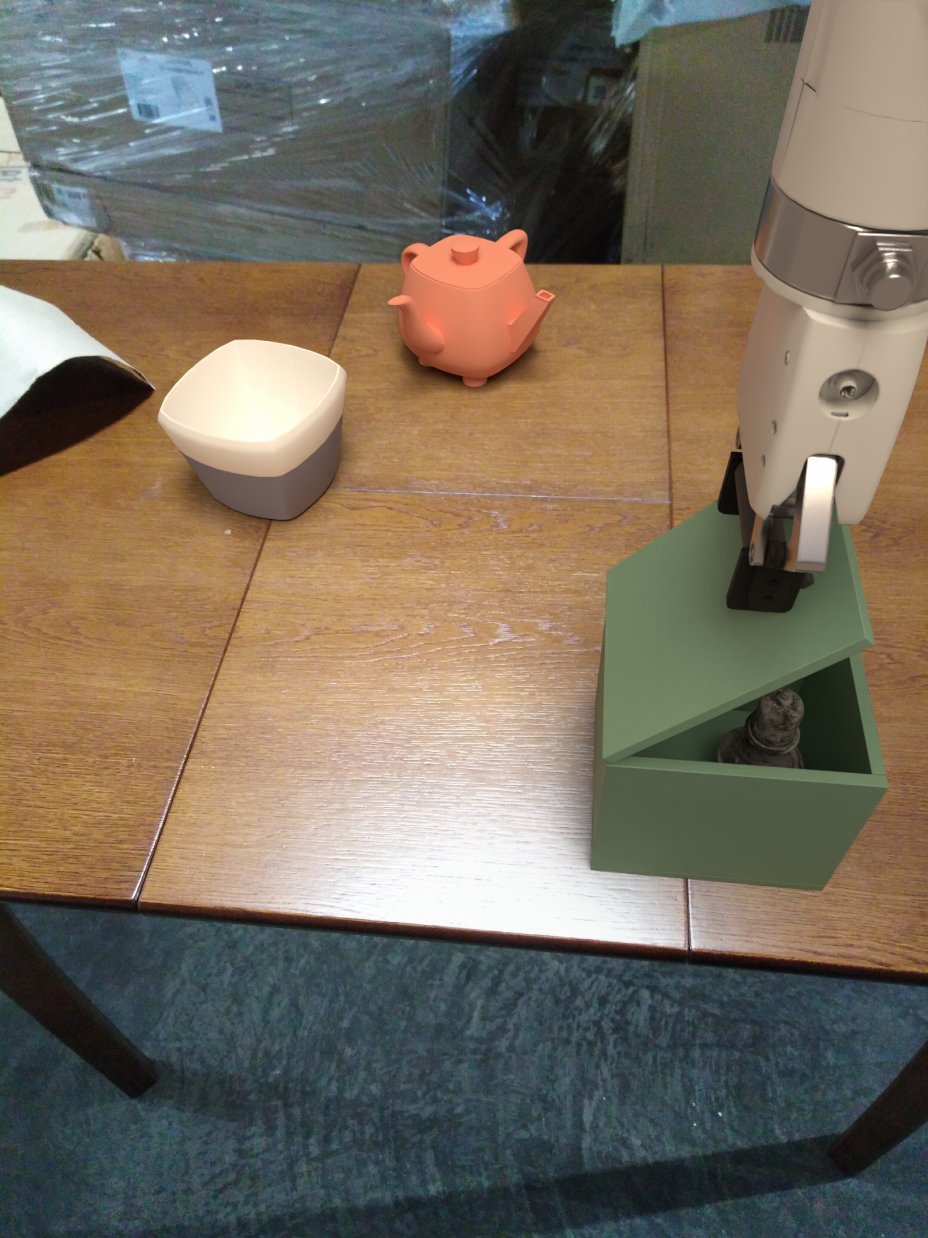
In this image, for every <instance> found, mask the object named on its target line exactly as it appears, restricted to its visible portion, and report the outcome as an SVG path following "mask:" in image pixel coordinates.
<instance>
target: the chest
mask: <svg viewBox="0 0 928 1238" xmlns="http://www.w3.org/2000/svg"><path fill="white" fill-rule="evenodd" d="M604 657H605V622H604V623H603V631H602V640H601V649H600V658H599V665H598V674H597V682H596V683H597V685H596V693H595V706H594V707H595V708H594V709H595V711H594V712H595V713H594V744H593V745H594V746H593V778H592V779H593V781H592V809H591V810H592V812H591V813H592V814H591V843H590V844H591V846H590V849H591V850H590V870H591V871H598V872H610V873H621V874H632V875H643V876H652V877H653V876H655V877H664V878H665V877H666V878H675V879H685V880H699V881H709V882H710V881H711V882H720V883H729V884H730V883H731V884H741V885H742V884H743V885H753V886H764V887H774V888H775V887H776V888H786V889H795V890H796V889H797V890H809V891H818V892H819V891H821V892H822V891H823V890H824V889H825V886H827V884H828V883H829V881H830V879H831V878H832V876H833V875H834V874H835V872H836V870H837V869H838V867H839V866H840V864H841V863H842V861H843V859H844V857H845V856H846V855H847V853H848V851H849V850H850V848H851V847H852V846H853V844H854V842H855V840H857V838H858V836H859V834H860V833H861V831H862V830H863V829H864V827H865V825H866V824H867V822H868V821H869V819H870V817H871V815H872V814H873V813H874V811H875V810H876V808H877V807H878V805H879V803H880V802H881V801H882V799H883V798H884V797H885V794H886V793H887V791H888V790H889V787H890V786H889V781H888V776H887V770H886V767H885V766H886V765H885V761H884V756H883V750H882V747H881V742H880V737H879V731H878V728H877V722H876V718H875V713H874V707H873V703H872V697H871V692H870V688H869V683H868V678H867V673H866V667H865V664H864V659H863V653H862V651H861V652H859V653H857V654H855V655H852V656H850V657H848V658H846V659H844V660H841V661H839V662H837V663H835V664H832V665H830V666H828V667H826V668H823V669H821V670H819V671H817V672H815V673H812V674H810V675H808V676H806V677H803V678H801V679H799V680H797V681H795V682H792V683H790V684H788V685H786V686H783V688H787V689H790V690H792V691H794V692H795V693H796V694H797V695H798V696H799V697H800V698H801V700H802V702H803V704H804V714H803V717H802V720H801V722H800V724H799V727H798V728H799V732H800V738H799V742H798V744H797V745H796V747H797V748H798V750H799V751H800V754H801V756H802V759H803V764H804V769H794V768H781V767H768V766H755V765H742V764H729V763H718V762H717V750H718V747H719V743H720V742H721V740H722V739H723V737H724V736H725V735H726V734H727V733H729V732H730V731H731V730H733V729H735V728H738V727H741V726H744V725H745V722H746V719H747V717H748V716H749V715H750V714H751V713H752V712H753V711H755V710H756V708H757V706H758V703H759V700H760V698H761V697H759V698H757V699H754V700H752V701H750V702H748V703H746V704H743V705H741V706H739V707H737V708H734V709H732V710H730V711H728V712H726V713H723V714H721V715H719V716H717V717H714V718H712V719H710V720H708V721H705V722H703V723H701V724H699V725H697V726H694V727H692V728H690V729H688V730H685V731H683V732H681V733H679V734H677V735H674V736H672V737H670V738H668V739H665V740H663V741H661V742H659V743H657V744H654V745H652V746H650V747H648V748H645V749H643V750H641V751H639V752H636V753H634V754H632V755H630V756H628V757H625V758H623V759H621V760H619V761H616V762H614V763H609V762H608V761H606V760H604V759H603V758H602V746H603V702H604Z"/></svg>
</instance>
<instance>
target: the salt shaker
mask: <svg viewBox="0 0 928 1238" xmlns="http://www.w3.org/2000/svg"><path fill="white" fill-rule="evenodd" d="M803 714H804V704H803V702H802V700H801V698H800V697H799V696H798V695H797V694H796V693H795V692H794V691H792V690H790V689H787V688H783V687H781V688H779V689H777V690H774V691H772V692H770V693H768V694H766V695H763V696H761V698H760V700H759V703H758V706H757V708H756V710H755V711H753V712H752V713H751V714H750V715H749V716H748V717H747V719H746V722H745V725H744V726H741V727H738V728H735V729H733V730H731V731H730V732H729V733H727V734H726V735H725V736H724V737H723V739H722V740H721V742H720V743H719V747H718V750H717V762H718V763H729V764H742V765H755V766H768V767H781V768H794V769H804V764H803V759H802V756H801V754H800V751H799V750H798V748H797V747H796V745H797V744H798V742H799V738H800V732H799V728H798V727H799V724H800V722H801V720H802V717H803Z"/></svg>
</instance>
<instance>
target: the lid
mask: <svg viewBox="0 0 928 1238" xmlns="http://www.w3.org/2000/svg"><path fill="white" fill-rule="evenodd" d="M735 482H736V491H737V500H738V509H739V515H726V514H722V513H720V512H719V511H718V505H717V501H718V498H717V499H716V500H714V501H712V502H711V503H710V504H708V505H706V506H705V507H703V508H702V509H700V510H699V511H697V512H696V513H694V514H692V515H690V516H689V517H687V518H686V519H685V520H683V521H682V522H680V523H678V524H677V525H675V526H674V527H673V528H671V529H669V530H667V531H666V532H665V533H663V534H661V535H660V536H658V537H656V538H655V539H653V540H652V541H650V542H649V543H647V544H646V545H644V546H643V547H641V548H640V549H638V550H636V551H635V552H633V553H632V554H630V555H628V556H627V557H626V558H624V559H622V560H621V561H619V562H618V563H616V564H615V565H613V566H611V567H610V568H608V569H607V570H606V571H605V572H606V575H605V614H604V615H605V616H604V623H605V657H604V702H603V746H602V758H603V759H604V760H606V761H608V762H609V763H614V762H616V761H619V760H621V759H623V758H625V757H628V756H630V755H632V754H634V753H636V752H639V751H641V750H643V749H645V748H648V747H650V746H652V745H654V744H657V743H659V742H661V741H663V740H665V739H668V738H670V737H672V736H674V735H677V734H679V733H681V732H683V731H685V730H688V729H690V728H692V727H694V726H697V725H699V724H701V723H703V722H705V721H708V720H710V719H712V718H714V717H717V716H719V715H721V714H723V713H726V712H728V711H730V710H732V709H734V708H737V707H739V706H741V705H743V704H746V703H748V702H750V701H752V700H754V699H757V698H759V697H761V696H763V695H766V694H768V693H770V692H772V691H774V690H777V689H779V688H781V687H783V686H786V685H788V684H790V683H792V682H795V681H797V680H799V679H801V678H803V677H806V676H808V675H810V674H812V673H815V672H817V671H819V670H821V669H823V668H826V667H828V666H830V665H832V664H835V663H837V662H839V661H841V660H844V659H846V658H848V657H850V656H852V655H855V654H857V653H859V652H861V653H862V652H863V651H866V650H868V649H871V648H872V647H874V646H876V641H875V635H874V632H873V627H872V623H871V618H870V614H869V609H868V605H867V601H866V596H865V591H864V586H863V581H862V579H861V578H862V577H861V573H860V569H859V563H858V559H857V555H856V554H857V553H856V551H855V546H854V542H853V541H854V540H853V537H852V532H851V526H850V525H838V521H837V516H836V511H835V507H834V502H833V509H832V518H831V527H830V536H829V546H828V555H827V563H826V568H825V571H824V572H823V573H822V574H818V573H807V574H806V576H805V579H804V581H803V583H802V586H801V588H800V591H799V593H798V595H797V598H796V600H795V603H794V605H793V607H792V609H791V610H790V611H788V612H786V613H774V612H758V611H747V610H733V609H729V608H728V607H727V604H726V595H727V592H728V589H729V586H730V583H731V579H732V576H733V573H734V570H735V567H736V564H737V561H738V558H739V555H740V551H741V548H742V547H750V543H751V538H752V533H753V528H754V522H755V517H756V513H755V511H754V510H753V509H752V508H751V506H750V502H749V497H748V491H747V485H746V477H745V470H744V462H743V461H742V462H741V463H740V464H739V465H738V466H737V468H736V470H735ZM796 490H797V489H795V491H794V492H793V493H792V494H791V495H790V496H789V497H788V498H796ZM792 528H793V519H789V518H773V523H772V528H771V533H770V538H769V541H778V542H789V541H790V539H791V535H792Z"/></svg>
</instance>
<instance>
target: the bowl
mask: <svg viewBox="0 0 928 1238" xmlns="http://www.w3.org/2000/svg"><path fill="white" fill-rule="evenodd" d="M347 377H348V374H347V372H346V370H345V369H344V368H343V367H342V366H341V365H340V364H339V363H337V362H335V361H334V360H333V359H331V358H329V357H328V356H325V355H323V354H320V353H318V352H316V351H313V350H309V349H305V348H303V347H299V346H296V345H293V344H287V343H281V342H276V341H271V340H260V339H234V340H231V341H230V342H227V343H225V344H224V345H222V346H219V347H218V348H216V349H215V350H213V351H211V352H210V353H209V354H207V355H206V356H205V357H203V358H202V359H200V360H199V361H198V362H197V363H196V364H195V365H194V366H192V367H191V368H190V369H188V370H187V371H186V372H185V373H184V374H183V376H182V377H180V378H179V380H178V381H177V382H176V383H175V384H173V386H172V388H171V389H170V390H169V391H168V393H167V394H166V396H165V397H164V398H163V401H162V403H161V406H160V408H159V411H158V413H157V422H158V424H159V425H160V427H161V428H162V429H163V431H164V432H165V434H166V435H167V436H168V438H169V439H170V441H171V442H172V443H173V444H174V446H175V447H176V448H177V449H178V450H179V453H181V455H182V456H183V458H184V459H185V460H186V462H187V463H188V464H189V465H190V467H191V468H192V470H193V471H194V473H195V474H196V475H197V476H198V478H199V479H200V481H201V482H202V483H203V485H204V486H205V488H206V489H207V491H208V492H209V493H210V495H211V496H212V497H213V498H214V500H216V501H217V502H219V503H221V504H223V505H225V506H226V507H228V508H230V509H232V510H234V511H237V512H239V513H242V514H243V515H248V516H253V517H256V518H261V519H262V518H263V519H270V520H277V521H279V520H280V521H281V520H282V521H284V520H285V521H286V520H287V521H288V520H292V519H295V518H296V517H299V515H301V514H302V513H303V512H305V511H306V510H307V509H308V508H309V507H311V506H312V505H313V504H314V503H315V502H316V501H317V500H318V499H320V497H321V496H322V495H323V494H324V493H325V492H326V490H327V489H328V487H329V486H330V485H331V483H332V481H333V479H334V478H335V475H336V473H337V472H338V469H339V465H340V464H339V463H340V454H341V442H342V430H343V420H344V408H345V402H346V401H345V400H346V389H347Z"/></svg>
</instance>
